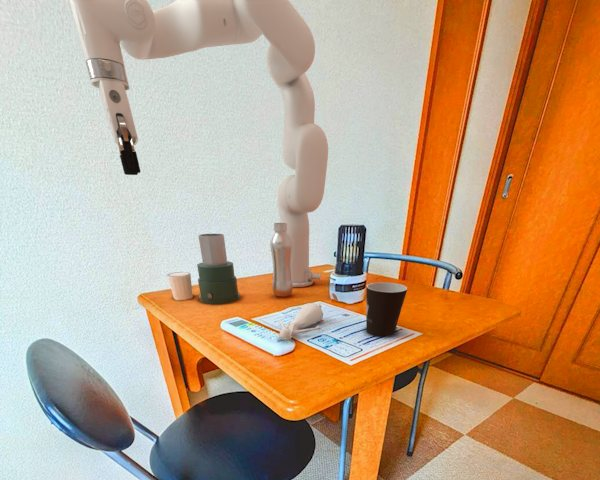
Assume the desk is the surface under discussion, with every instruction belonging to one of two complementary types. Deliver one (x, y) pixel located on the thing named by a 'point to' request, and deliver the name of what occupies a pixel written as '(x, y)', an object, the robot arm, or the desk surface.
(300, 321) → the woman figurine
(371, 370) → the desk surface
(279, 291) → the silver metal bottle
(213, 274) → the dark green tiered cylinder
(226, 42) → the robot arm
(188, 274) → the pale pink short cylinder
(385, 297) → the coffee mug
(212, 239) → the silver cup
